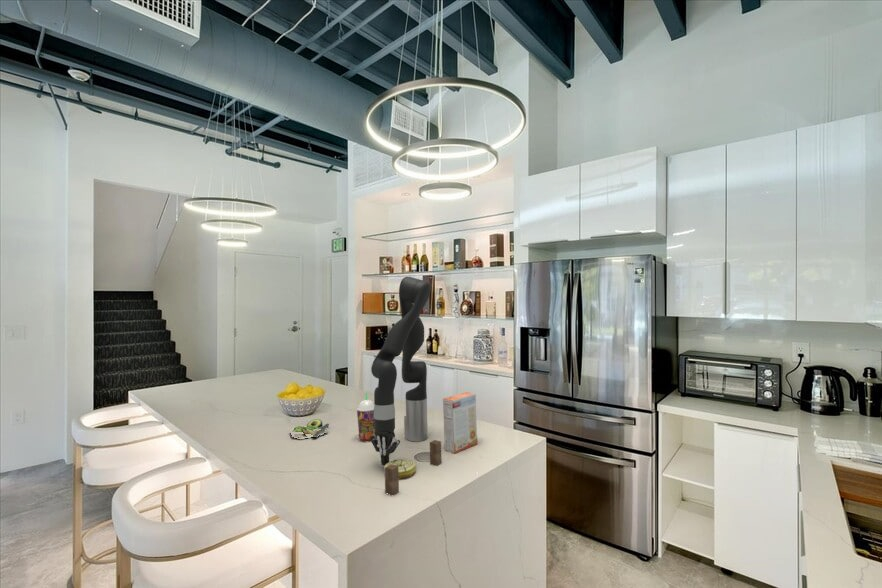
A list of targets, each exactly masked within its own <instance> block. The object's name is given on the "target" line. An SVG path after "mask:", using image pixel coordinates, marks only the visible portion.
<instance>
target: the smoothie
mask: <svg viewBox="0 0 882 588" xmlns="http://www.w3.org/2000/svg"><path fill="white" fill-rule="evenodd" d="M356 415H357V425H358V426H357V427H358V437H359V440H360V441H361V440H362V441H361V442H363V441H369V442H371V440H370V437H371V436H373V435H374V433H375V430H374V401H372V400H371V399H368V393H367V392H366V393H365V399H363V400H362V401H361V402H359V403H358V406H357V407H356Z"/></svg>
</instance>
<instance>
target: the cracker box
mask: <svg viewBox="0 0 882 588" xmlns="http://www.w3.org/2000/svg"><path fill="white" fill-rule="evenodd" d="M476 400H477V398H476V393H471V392H465V391H464V392H462V393H457V394H455V395H451V396H447V397H444V398H443V399H442V405H443V406H442V408H443V409H442V412H443V413H442V414H443V435H444V451H446V452H448V453H451V454H457V453H459V452H462V451H465V450H466V449H468V448H471V447H474V446H476V445H478V427H477V425H478V424H477V401H476Z"/></svg>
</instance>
